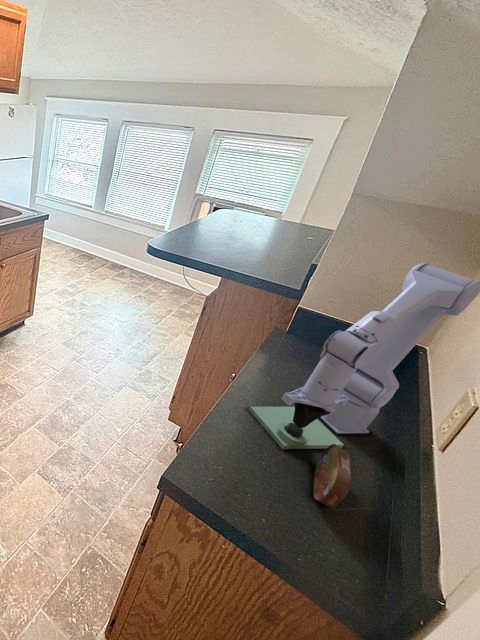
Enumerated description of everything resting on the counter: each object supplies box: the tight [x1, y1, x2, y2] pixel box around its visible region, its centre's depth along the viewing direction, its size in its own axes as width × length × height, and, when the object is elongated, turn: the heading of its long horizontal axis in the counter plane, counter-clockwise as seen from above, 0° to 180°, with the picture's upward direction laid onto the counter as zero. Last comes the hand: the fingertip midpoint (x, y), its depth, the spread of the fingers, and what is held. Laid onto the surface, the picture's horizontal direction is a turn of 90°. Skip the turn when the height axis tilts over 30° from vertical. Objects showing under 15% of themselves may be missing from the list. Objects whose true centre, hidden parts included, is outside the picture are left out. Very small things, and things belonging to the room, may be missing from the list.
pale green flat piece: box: [248, 406, 345, 450], centre depth 95 cm, size 16×12×3 cm
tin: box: [313, 444, 353, 509], centre depth 79 cm, size 15×3×8 cm, turn 141°
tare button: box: [285, 423, 303, 438], centre depth 90 cm, size 3×3×2 cm
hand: (298, 424), depth 89 cm, fingers closed
